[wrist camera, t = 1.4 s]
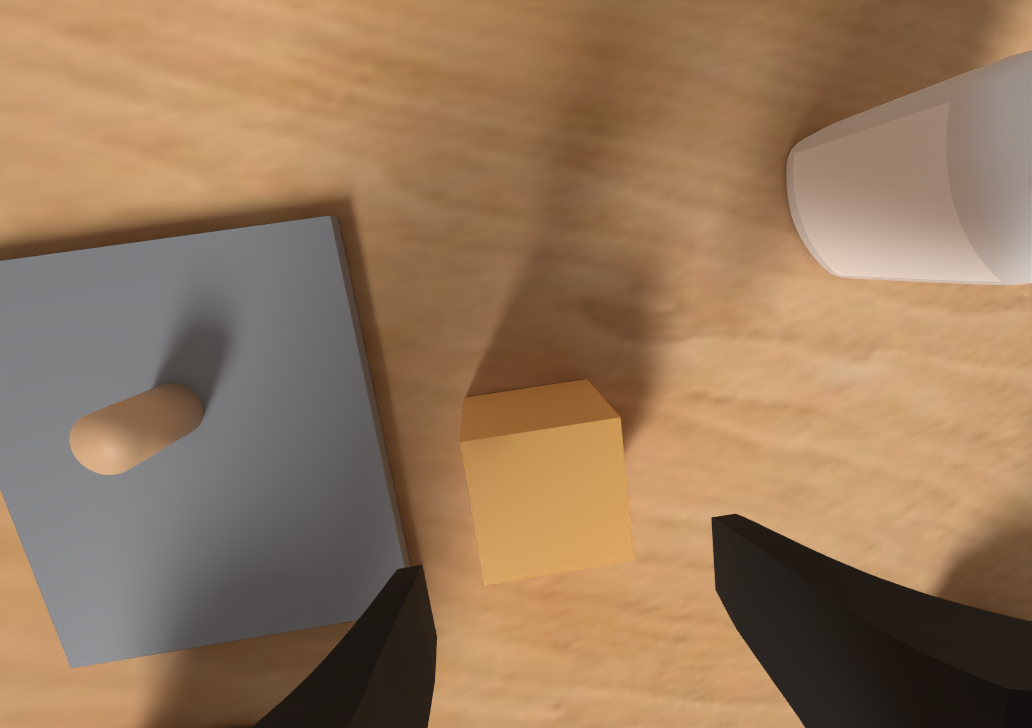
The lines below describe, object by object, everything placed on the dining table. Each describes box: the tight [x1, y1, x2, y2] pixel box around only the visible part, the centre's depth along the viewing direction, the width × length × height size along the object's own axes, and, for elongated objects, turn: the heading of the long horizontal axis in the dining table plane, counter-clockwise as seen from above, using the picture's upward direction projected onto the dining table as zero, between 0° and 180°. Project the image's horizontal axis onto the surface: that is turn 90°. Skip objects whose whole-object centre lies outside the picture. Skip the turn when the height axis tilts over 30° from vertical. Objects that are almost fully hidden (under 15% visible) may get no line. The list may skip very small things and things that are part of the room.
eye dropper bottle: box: [786, 51, 1032, 285], centre depth 14 cm, size 4×6×12 cm
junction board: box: [0, 216, 411, 668], centre depth 18 cm, size 16×14×4 cm
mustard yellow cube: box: [460, 379, 634, 585], centre depth 18 cm, size 5×5×5 cm
